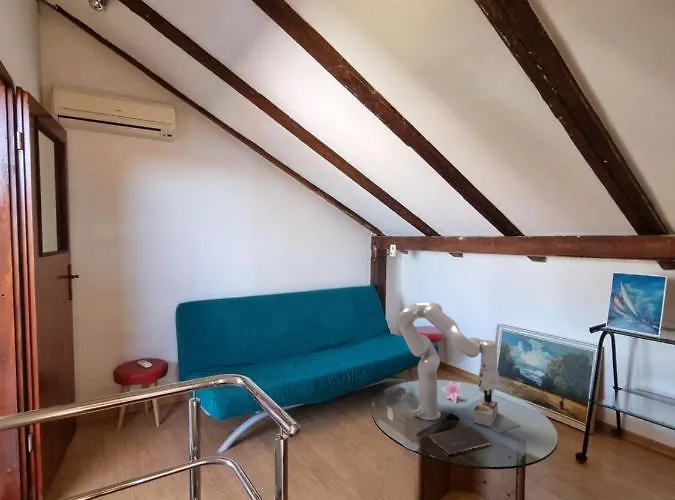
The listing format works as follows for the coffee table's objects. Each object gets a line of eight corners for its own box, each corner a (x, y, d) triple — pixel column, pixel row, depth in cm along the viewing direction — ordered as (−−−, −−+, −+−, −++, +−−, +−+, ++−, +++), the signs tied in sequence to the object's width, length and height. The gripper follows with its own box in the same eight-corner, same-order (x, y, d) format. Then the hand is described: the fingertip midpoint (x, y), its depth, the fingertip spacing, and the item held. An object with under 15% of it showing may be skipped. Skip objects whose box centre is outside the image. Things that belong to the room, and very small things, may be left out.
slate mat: (499, 433, 184) (499, 432, 184) (477, 420, 197) (477, 419, 197) (520, 425, 191) (520, 425, 191) (497, 413, 203) (497, 413, 203)
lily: (440, 396, 228) (437, 385, 224) (456, 386, 231) (453, 375, 226) (452, 410, 218) (450, 399, 214) (469, 400, 220) (467, 389, 216)
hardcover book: (490, 446, 174) (490, 441, 174) (448, 458, 167) (448, 453, 167) (467, 429, 190) (467, 425, 189) (428, 439, 182) (428, 434, 182)
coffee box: (492, 427, 189) (498, 413, 202) (491, 414, 189) (498, 401, 202) (473, 422, 194) (480, 409, 207) (472, 410, 194) (480, 398, 207)
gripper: (483, 370, 183) (482, 407, 184) (505, 365, 189) (504, 401, 190) (471, 365, 189) (471, 401, 191) (493, 360, 196) (492, 395, 197)
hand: (487, 401), depth 190 cm, fingers closed
